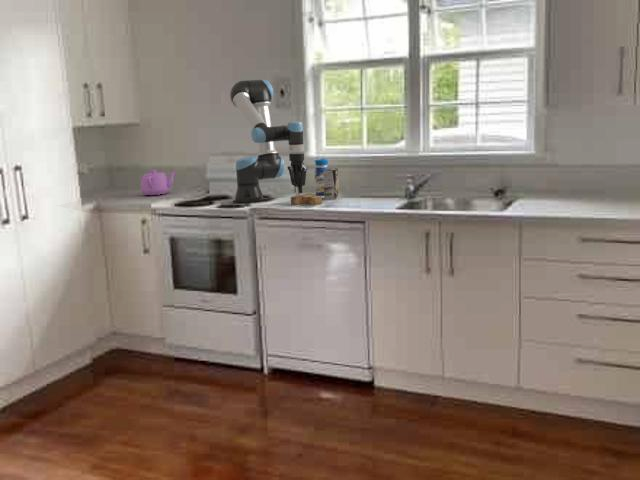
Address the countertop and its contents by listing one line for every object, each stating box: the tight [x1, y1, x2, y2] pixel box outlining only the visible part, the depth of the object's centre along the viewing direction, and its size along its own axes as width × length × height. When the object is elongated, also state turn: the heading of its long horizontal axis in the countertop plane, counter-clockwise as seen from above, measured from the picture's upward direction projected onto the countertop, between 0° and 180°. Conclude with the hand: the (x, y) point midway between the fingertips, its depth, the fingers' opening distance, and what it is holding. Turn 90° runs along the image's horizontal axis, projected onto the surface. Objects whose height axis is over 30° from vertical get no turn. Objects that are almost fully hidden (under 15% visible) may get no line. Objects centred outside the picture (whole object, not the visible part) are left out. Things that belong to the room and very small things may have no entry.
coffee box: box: [323, 167, 340, 201], centre depth 351 cm, size 9×6×16 cm
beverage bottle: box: [314, 158, 329, 197], centre depth 365 cm, size 8×8×20 cm
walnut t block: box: [290, 193, 323, 207], centre depth 337 cm, size 14×13×4 cm
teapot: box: [140, 169, 178, 196], centre depth 406 cm, size 23×21×15 cm
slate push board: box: [275, 200, 333, 209], centre depth 341 cm, size 26×18×1 cm
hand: (299, 199), depth 343 cm, fingers closed
